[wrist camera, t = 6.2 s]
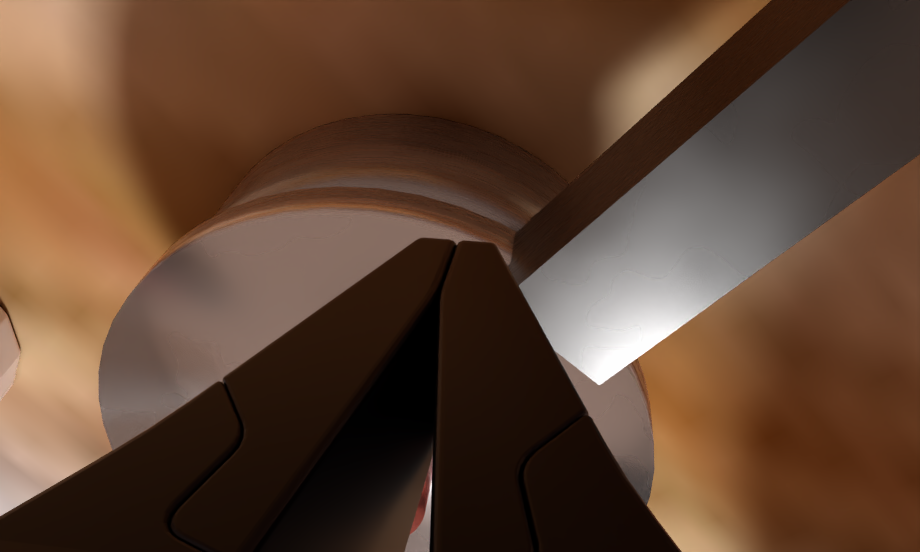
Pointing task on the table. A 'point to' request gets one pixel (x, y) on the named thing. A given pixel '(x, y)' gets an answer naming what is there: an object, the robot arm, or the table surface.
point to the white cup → (7, 354)
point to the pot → (410, 166)
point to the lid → (565, 226)
